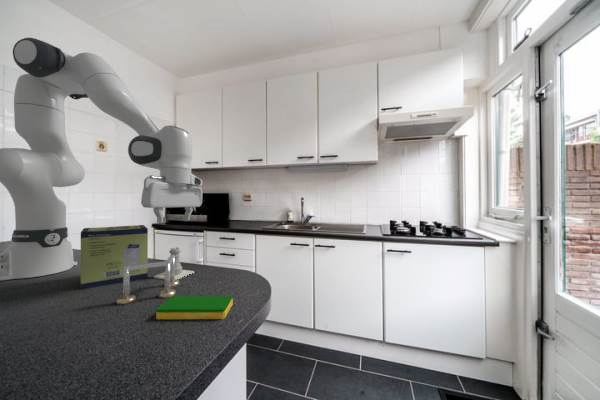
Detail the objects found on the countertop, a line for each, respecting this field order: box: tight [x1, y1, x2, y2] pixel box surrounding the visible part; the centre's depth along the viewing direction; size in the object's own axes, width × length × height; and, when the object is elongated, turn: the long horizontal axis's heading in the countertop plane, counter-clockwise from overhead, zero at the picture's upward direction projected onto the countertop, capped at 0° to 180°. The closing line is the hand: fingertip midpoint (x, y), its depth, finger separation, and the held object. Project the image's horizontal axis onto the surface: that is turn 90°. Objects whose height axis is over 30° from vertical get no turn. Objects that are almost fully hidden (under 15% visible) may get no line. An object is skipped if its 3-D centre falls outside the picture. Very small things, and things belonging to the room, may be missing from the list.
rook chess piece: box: [169, 246, 183, 275], centre depth 74 cm, size 4×4×8 cm
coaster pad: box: [153, 269, 195, 280], centre depth 74 cm, size 8×8×1 cm
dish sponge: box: [155, 295, 234, 320], centre depth 51 cm, size 7×14×2 cm, turn 92°
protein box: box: [80, 224, 149, 290], centre depth 71 cm, size 10×16×16 cm
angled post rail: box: [116, 254, 180, 306], centre depth 60 cm, size 10×16×8 cm, turn 161°
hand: (174, 221), depth 74 cm, fingers open, 8 cm apart
